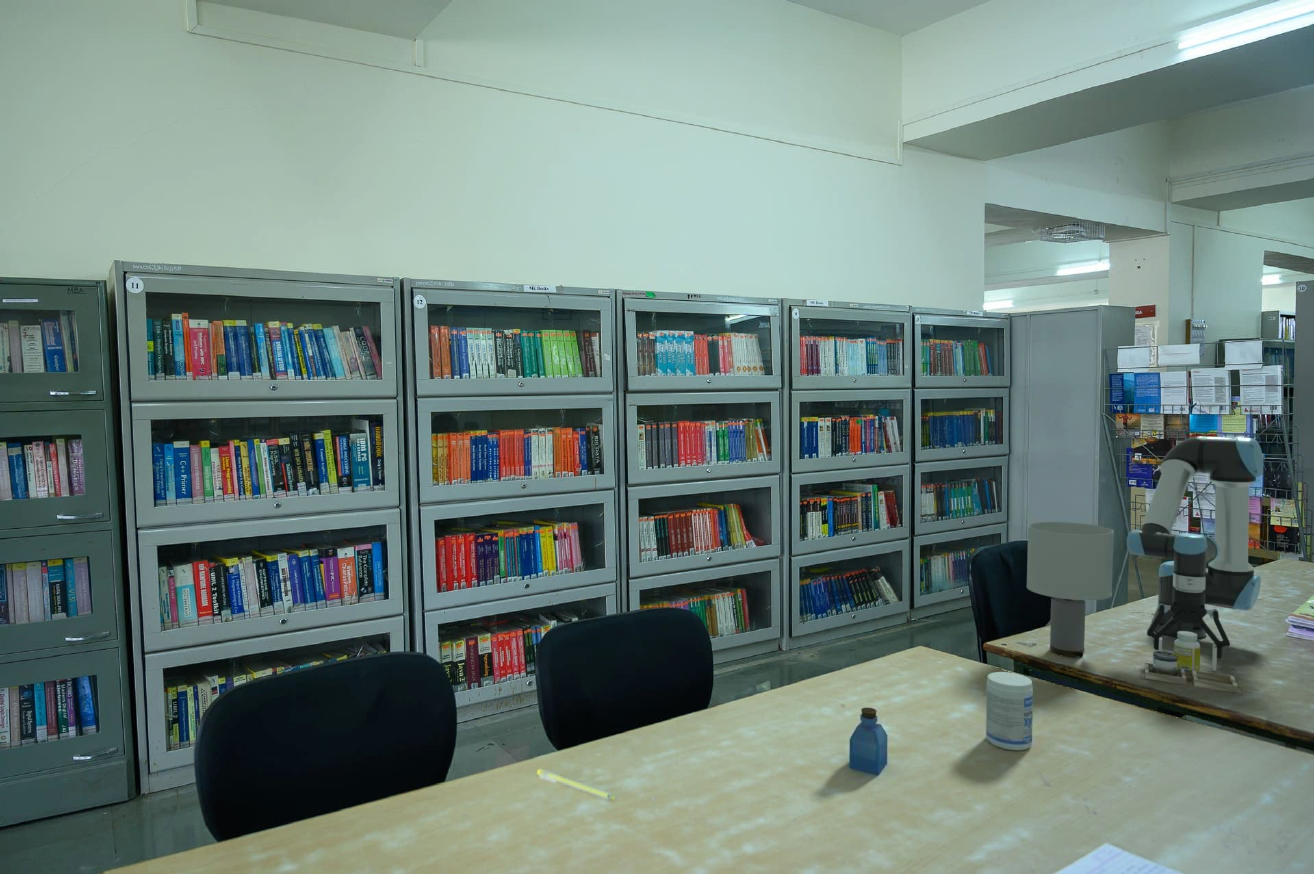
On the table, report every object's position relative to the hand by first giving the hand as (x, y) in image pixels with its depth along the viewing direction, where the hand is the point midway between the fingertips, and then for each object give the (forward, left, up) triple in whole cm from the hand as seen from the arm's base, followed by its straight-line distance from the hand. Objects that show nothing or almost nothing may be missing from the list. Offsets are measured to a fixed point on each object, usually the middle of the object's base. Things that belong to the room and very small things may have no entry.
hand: (1186, 665), depth 221 cm
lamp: (-2, -30, -2) cm, 30 cm away
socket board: (+11, 0, -2) cm, 11 cm away
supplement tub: (+74, -37, -2) cm, 83 cm away
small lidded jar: (+11, -5, -1) cm, 12 cm away
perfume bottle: (+101, -61, -2) cm, 118 cm away
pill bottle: (0, 0, -2) cm, 2 cm away
